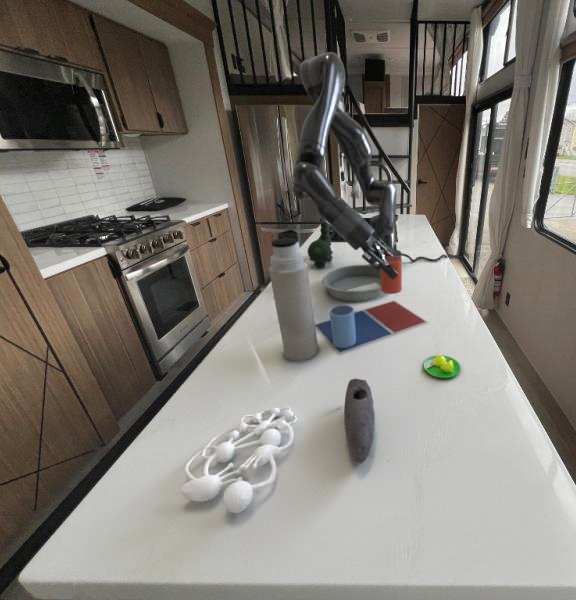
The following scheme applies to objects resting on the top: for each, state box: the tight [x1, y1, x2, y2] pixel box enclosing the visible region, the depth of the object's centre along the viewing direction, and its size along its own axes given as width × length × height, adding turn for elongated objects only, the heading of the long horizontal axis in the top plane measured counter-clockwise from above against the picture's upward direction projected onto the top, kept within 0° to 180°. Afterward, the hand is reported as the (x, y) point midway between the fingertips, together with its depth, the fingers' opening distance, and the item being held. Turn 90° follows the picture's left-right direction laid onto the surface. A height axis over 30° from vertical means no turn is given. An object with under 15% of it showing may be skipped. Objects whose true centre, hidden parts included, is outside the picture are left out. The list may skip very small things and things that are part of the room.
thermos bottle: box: [268, 238, 319, 361], centre depth 73 cm, size 8×8×28 cm
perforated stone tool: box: [343, 378, 375, 465], centre depth 55 cm, size 15×5×7 cm, turn 3°
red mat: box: [365, 300, 426, 333], centre depth 94 cm, size 10×16×1 cm, turn 32°
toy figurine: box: [307, 216, 334, 269], centre depth 136 cm, size 9×19×25 cm
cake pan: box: [322, 264, 386, 302], centre depth 112 cm, size 25×25×4 cm
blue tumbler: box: [329, 304, 356, 348], centre depth 80 cm, size 6×6×9 cm
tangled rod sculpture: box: [180, 406, 298, 514], centre depth 52 cm, size 19×14×4 cm
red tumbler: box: [381, 256, 403, 295], centre depth 89 cm, size 6×6×9 cm
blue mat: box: [315, 310, 392, 353], centre depth 88 cm, size 15×16×1 cm
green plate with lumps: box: [423, 354, 461, 379], centre depth 72 cm, size 8×8×3 cm
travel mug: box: [277, 229, 301, 253], centre depth 111 cm, size 6×7×20 cm
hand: (397, 272), depth 88 cm, fingers closed on red tumbler, 6 cm apart
